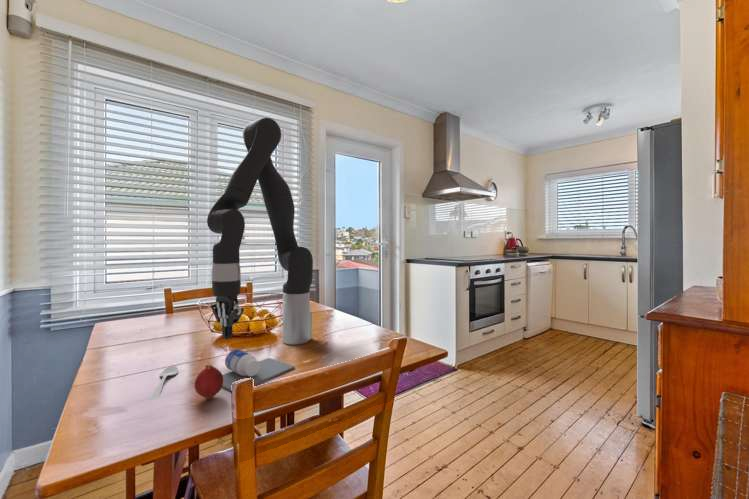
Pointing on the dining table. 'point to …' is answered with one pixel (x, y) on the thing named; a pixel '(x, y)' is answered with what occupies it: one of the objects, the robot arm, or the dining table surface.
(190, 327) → the dining table surface
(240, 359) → the pill bottle
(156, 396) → the spoon
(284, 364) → the mat
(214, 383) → the onion
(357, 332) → the dining table surface
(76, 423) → the dining table surface
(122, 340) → the dining table surface
